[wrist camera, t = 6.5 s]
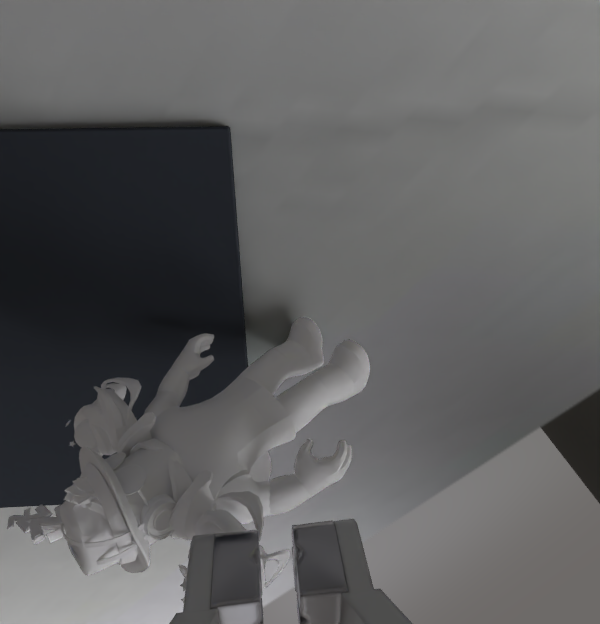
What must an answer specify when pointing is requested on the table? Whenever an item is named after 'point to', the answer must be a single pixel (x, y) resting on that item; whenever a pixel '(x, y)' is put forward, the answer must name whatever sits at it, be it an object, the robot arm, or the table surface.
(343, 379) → the cartoon character statuette
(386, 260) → the table surface
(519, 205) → the table surface
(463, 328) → the table surface
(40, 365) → the mat
